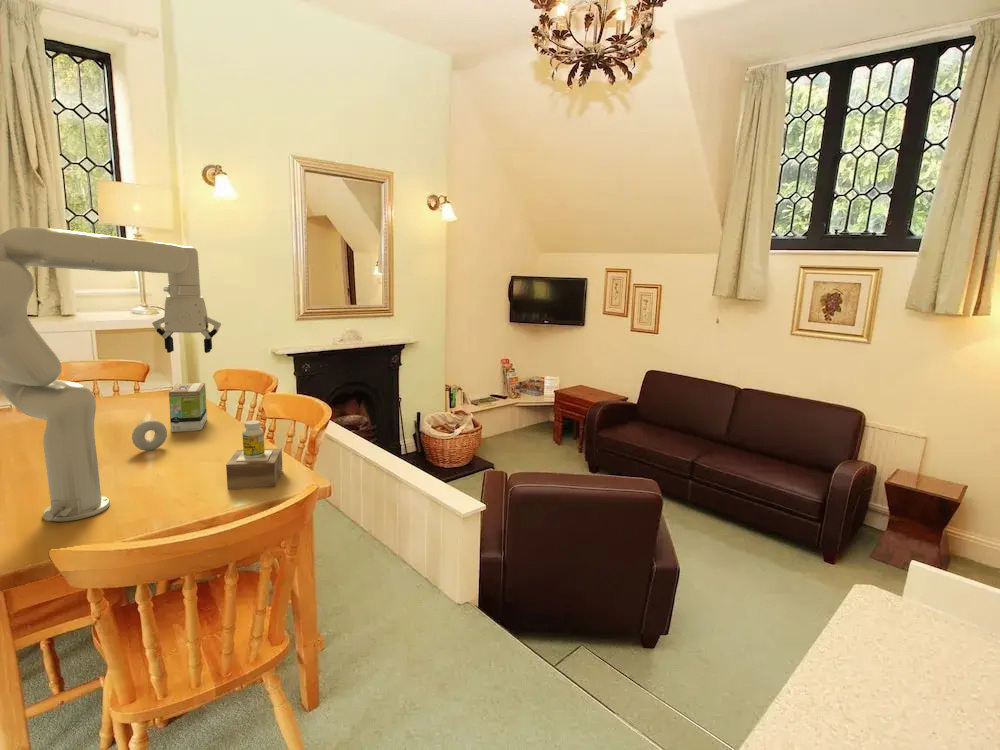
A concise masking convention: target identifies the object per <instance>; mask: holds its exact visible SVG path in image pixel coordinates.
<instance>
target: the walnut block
mask: <svg viewBox="0 0 1000 750" xmlns="http://www.w3.org/2000/svg"><path fill="white" fill-rule="evenodd" d="M264 450H265V453H264V455H263V456H261V457H258V458H247V457H245V456H244V453H243V449H237V450H236V451H235V452H234V454H233V455H232V456H231V458H230V459H229V460H228V462H227V463H226V464H225V466H226V467H225V468H226V483H227V484H226V485H227V487H226V488H227V490H241V489H247V490H248V489H265V488H266V489H267V488H268V489H269V488H276V486H277V484H278V483H279V480H280V478H281V476H282V474H283V471H282V470H283V453H282V452H283V451H282V450H283V449H282V448H264ZM280 475H281V476H280ZM279 477H280V478H279Z"/></svg>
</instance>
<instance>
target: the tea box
mask: <svg viewBox="0 0 1000 750" xmlns="http://www.w3.org/2000/svg"><path fill="white" fill-rule="evenodd" d="M168 400H169V401H168V404H169V423H170V424H169V425H170V432H171V433H173V432H174V433H177V432H178V433H179V432H193V431H195V432H196V431H201V430H202V429H203V427H204V425H205V424H206V422H207V420H208V417H207V415H208V413H207V410H208V409H207V392H206V383H205V382H200V383H199V382H197V383H196V382H195V383H193V382H192V383H191V382H190V383H186V382H185V383H176V384H175V385H174V386H173V387H172V388H171V389H170V390H169V391H168Z"/></svg>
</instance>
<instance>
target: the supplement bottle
mask: <svg viewBox="0 0 1000 750" xmlns="http://www.w3.org/2000/svg"><path fill="white" fill-rule="evenodd" d="M244 428H245V429H243V431H242V434H241V435H242V450H243V453H244V456H245V457H247V458H258V457H261V456H263V455H264V453H265V450H264V449H265V435H264V434H265V433H264V431H265V430H264V429H263V428H261V421H260V420H256V419H253V420H247V421H245V422H244Z"/></svg>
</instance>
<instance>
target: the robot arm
mask: <svg viewBox="0 0 1000 750" xmlns="http://www.w3.org/2000/svg"><path fill="white" fill-rule="evenodd" d="M30 267H41V268H50V269H52V268H53V269H68V270H69V269H70V270H84V271H85V270H86V271H95V272H97V271H99V272H141V273H142V272H145V273H153V274H155V273H156V274H167V281H168V284H167V286H163V292H165V293H168V295H166V297H165V301H164V316H163V317H161V318H159V319H157V320H155V321H153V322H152V323H151V324H152V326H153V327H154V329H155V330H156V332H157V334H159V335H160V336H161V337H162V339H164V349H165V350H166V352H167V353H173V352H174V351H175V346H174V338H173V336H172V335H173V334H174V333H185V334H187V333H189V334H190V333H191V334H194V333H195V334H196V333H198V334H199V333H201V335H203V336H204V339H203V347H204V353H205V354H209V353H210V352H212V351H211V350H212V349H213V341H212V339H213V337H214V336H216V334H218V332H219V330H220V328H221V326H222V323H221V322H219V321H217V320H216V319H213V318H210V317H208V313H207V312H208V311H207V307H206V302H205V298H204V296H201V283H200V281H201V280H200V269H199V253H198V250H197V248H195V247H193V246H188V245H187V246H186V245H185V246H184V245H182V246H181V245H178V244H173V243H164V242H158V241H157V242H156V241H148V240H141V239H133V238H126V237H119V236H113V235H105V234H98V233H88V232H83V231H82V232H81V231H74V230H68V229H67V230H65V229H58V228H50V227H35V226H33V227H31V226H30V227H29V226H27V227H25V226H20V227H19V226H18V227H17V226H16V227H13V228H10V229H7V230H6V231H4V232H2V233H1V234H0V392H1V393H2V394H3V396H4V397H5V398H6V399H7V400H8V401H9V402H10V403H11V404H12V405H13V406H14V407H15V408H16V409H17V410H18V411H19V412H21V413H22V414H24V415H26V416H29V417H31V418H35V419H41V420H45V421H46V424H45V430H44V431H43V438H42V439H43V440H42V441H43V442H42V445H43V454H44V459H45V460H44V461H45V470H46V475H47V484H48V485H47V486H48V491H49V492H48V494H49V499H50V505H49V506H47V507H46V508H45V509H44V510H43V513H42V518H43V520H45V521H50V522H71V521H77V520H78V521H79V520H81V519H86V518H89V517H93V516H95V515H98V514H100V513H103V512H104V511H106V510H107V508H109V506H110V502H111V501H110V498H108V497H106V496H104V495H102V492H101V484H100V483H101V482H100V473H99V464H98V463H99V462H98V455H97V453H98V452H97V445H96V437H95V436H96V435H95V419H96V418H95V417H96V412H97V411H96V409H97V401H96V397H95V394H94V393H93V392H92V391H91V390H90V389H89V388H88V387H87V386H85V385H83V384H80V383H78V382H74V381H69V380H63V379H59V378H60V376H61V374H62V369H63V368H62V363H61V360H60V359H59V358H58V355H57V353H55V352H54V351H53V350H52V348H51V347H50V346H49V345H48V344H47V342H46V340H44V338H43V337H42V336H41V334H39V332H38V330H36V328H35V327H34V325H33V324H32V322H31V321H30V319H29V317H28V304H29V302H30V299H31V296H32V294H33V292H34V289H35V280H34V277H33V274H32V273H31V271H29V269H28V268H30ZM162 324H164V328H162ZM209 324H210V325H212V326H213V328H212V330H211V331H210V330H209Z"/></svg>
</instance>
